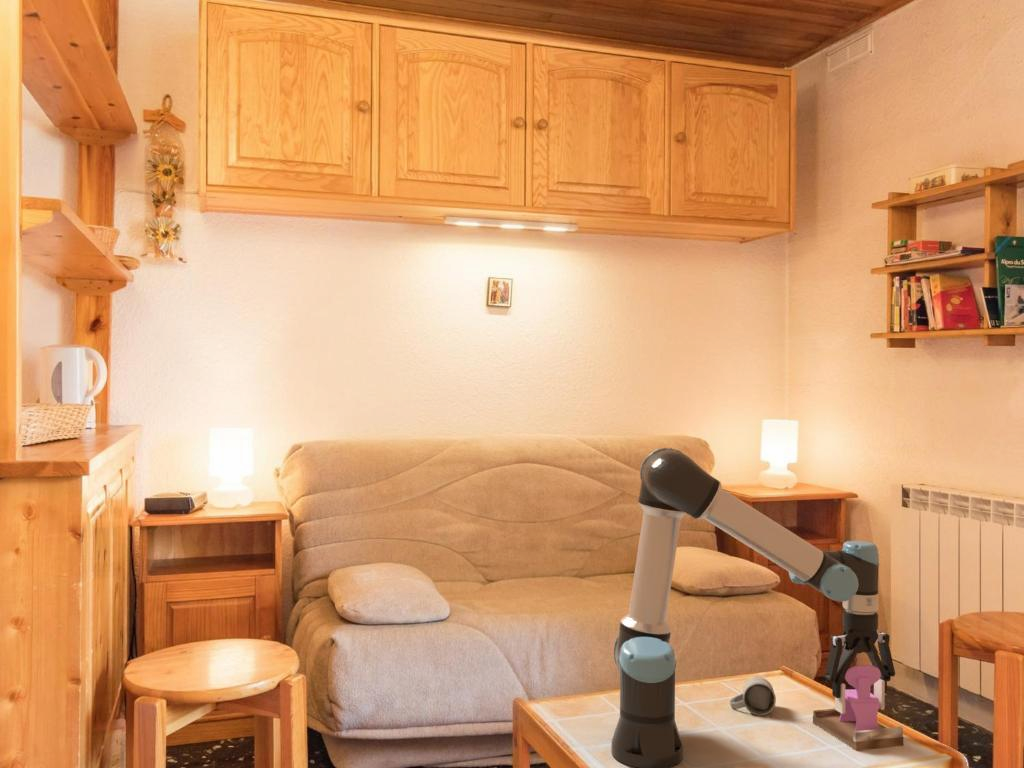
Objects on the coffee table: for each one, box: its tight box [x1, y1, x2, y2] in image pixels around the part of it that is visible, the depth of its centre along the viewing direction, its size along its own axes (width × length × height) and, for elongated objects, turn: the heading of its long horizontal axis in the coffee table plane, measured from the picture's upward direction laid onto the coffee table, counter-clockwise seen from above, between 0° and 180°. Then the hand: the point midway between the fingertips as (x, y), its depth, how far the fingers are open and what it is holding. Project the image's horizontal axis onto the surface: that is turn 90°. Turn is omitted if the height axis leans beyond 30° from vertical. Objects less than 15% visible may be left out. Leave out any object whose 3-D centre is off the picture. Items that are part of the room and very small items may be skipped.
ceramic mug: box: [729, 676, 777, 716], centre depth 214 cm, size 11×8×8 cm
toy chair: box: [839, 664, 881, 731], centre depth 198 cm, size 8×9×15 cm
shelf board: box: [812, 707, 904, 752], centre depth 199 cm, size 12×16×4 cm
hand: (859, 709), depth 198 cm, fingers open, 9 cm apart
